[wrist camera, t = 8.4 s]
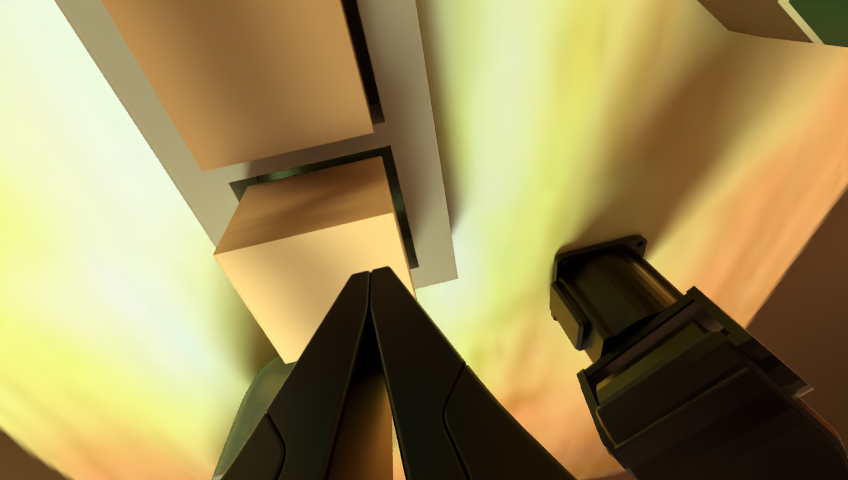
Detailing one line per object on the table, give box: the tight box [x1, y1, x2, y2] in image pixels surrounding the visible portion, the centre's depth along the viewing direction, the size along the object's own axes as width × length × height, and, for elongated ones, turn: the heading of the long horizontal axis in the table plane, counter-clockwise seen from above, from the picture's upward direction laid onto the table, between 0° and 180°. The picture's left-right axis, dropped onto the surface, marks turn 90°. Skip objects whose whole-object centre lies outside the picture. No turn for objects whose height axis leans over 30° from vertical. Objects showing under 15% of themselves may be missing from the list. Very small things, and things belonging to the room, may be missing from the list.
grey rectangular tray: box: [54, 0, 458, 289], centre depth 14 cm, size 11×26×3 cm, turn 9°
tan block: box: [101, 0, 374, 172], centre depth 13 cm, size 6×6×5 cm
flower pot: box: [212, 355, 297, 480], centre depth 24 cm, size 9×9×9 cm
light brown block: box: [213, 156, 417, 364], centre depth 16 cm, size 6×6×5 cm
